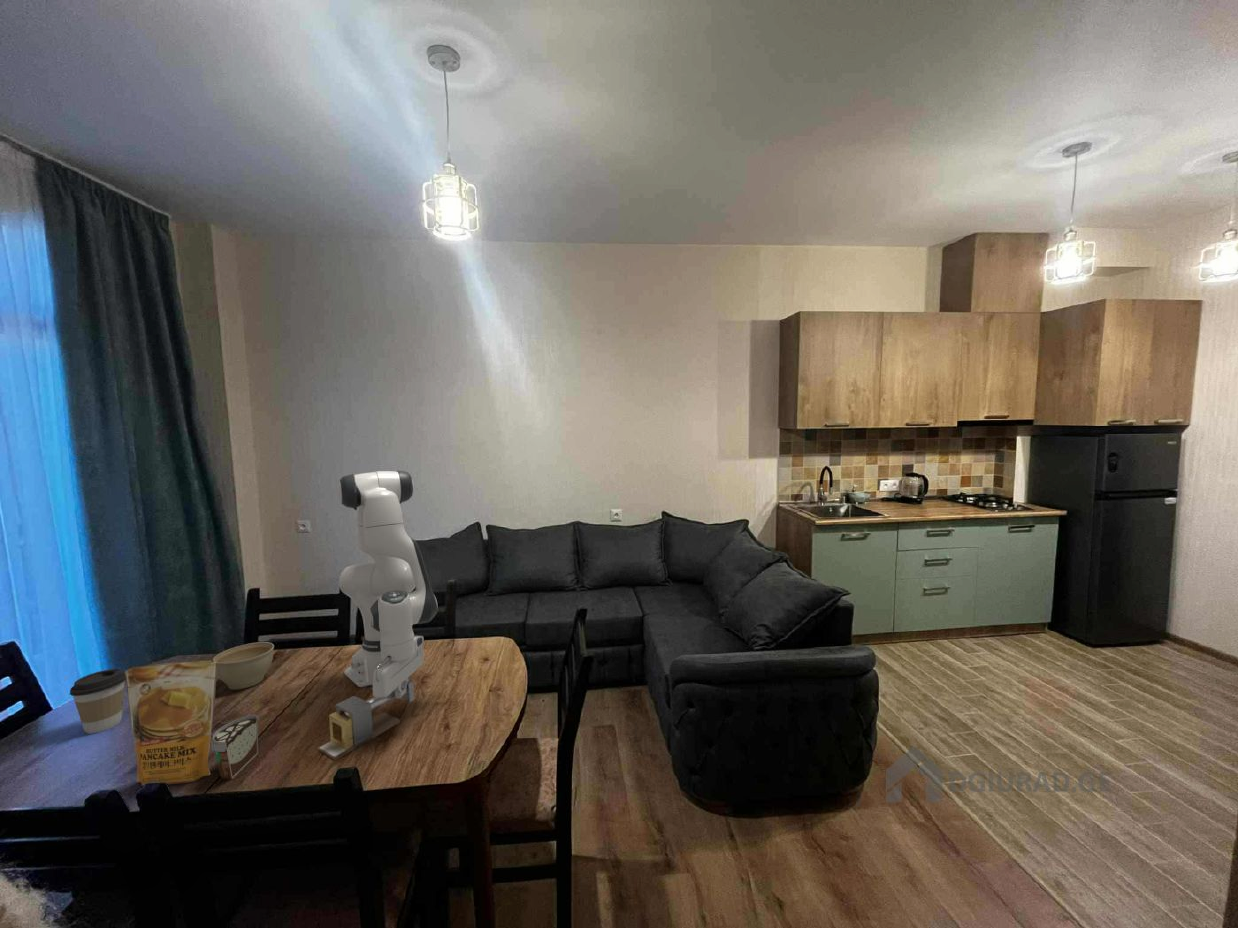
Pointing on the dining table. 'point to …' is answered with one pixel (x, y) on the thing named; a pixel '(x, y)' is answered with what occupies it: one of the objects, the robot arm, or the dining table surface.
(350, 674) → the robot arm
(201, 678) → the pancake mix bag
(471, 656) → the dining table surface
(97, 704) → the coffee cup
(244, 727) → the food container
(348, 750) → the rig base
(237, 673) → the planter bowl
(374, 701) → the shaft
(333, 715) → the spacer
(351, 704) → the block
